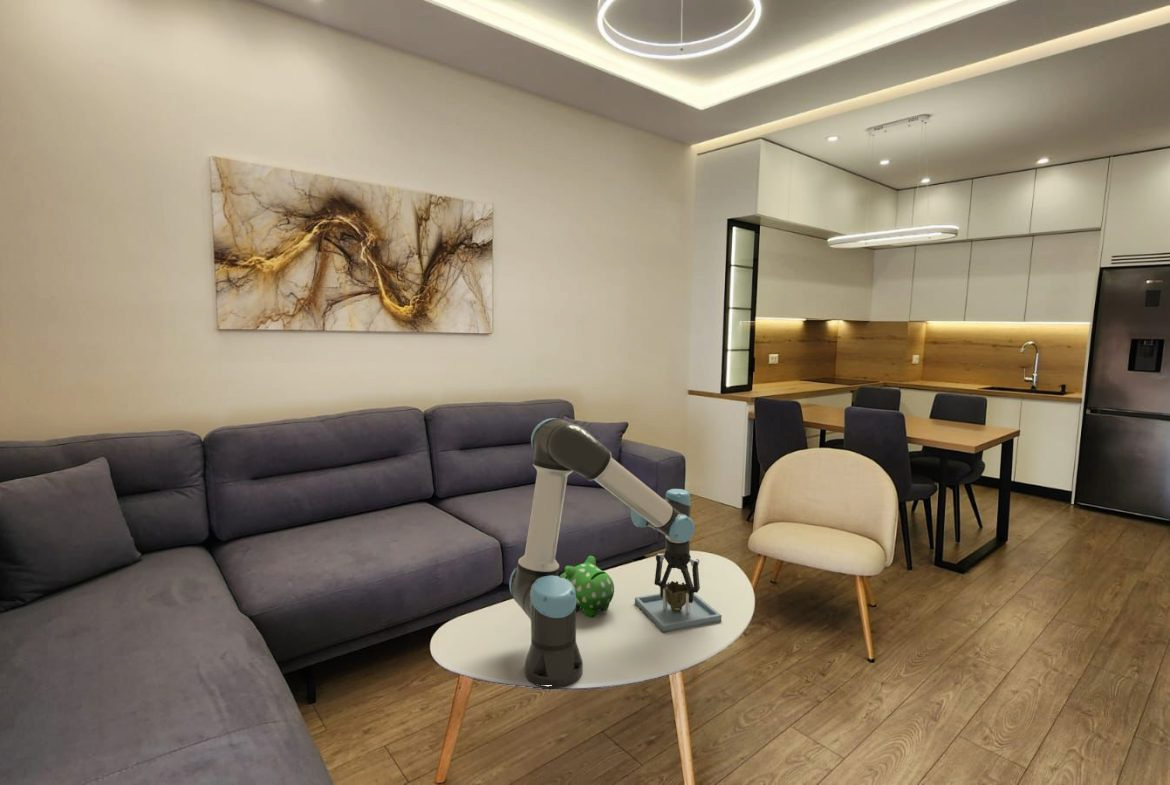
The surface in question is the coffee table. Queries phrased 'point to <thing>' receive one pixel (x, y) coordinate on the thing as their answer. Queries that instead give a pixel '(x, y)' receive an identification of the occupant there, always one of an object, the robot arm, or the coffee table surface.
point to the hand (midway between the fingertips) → (676, 609)
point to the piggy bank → (590, 587)
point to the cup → (676, 595)
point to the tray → (677, 613)
